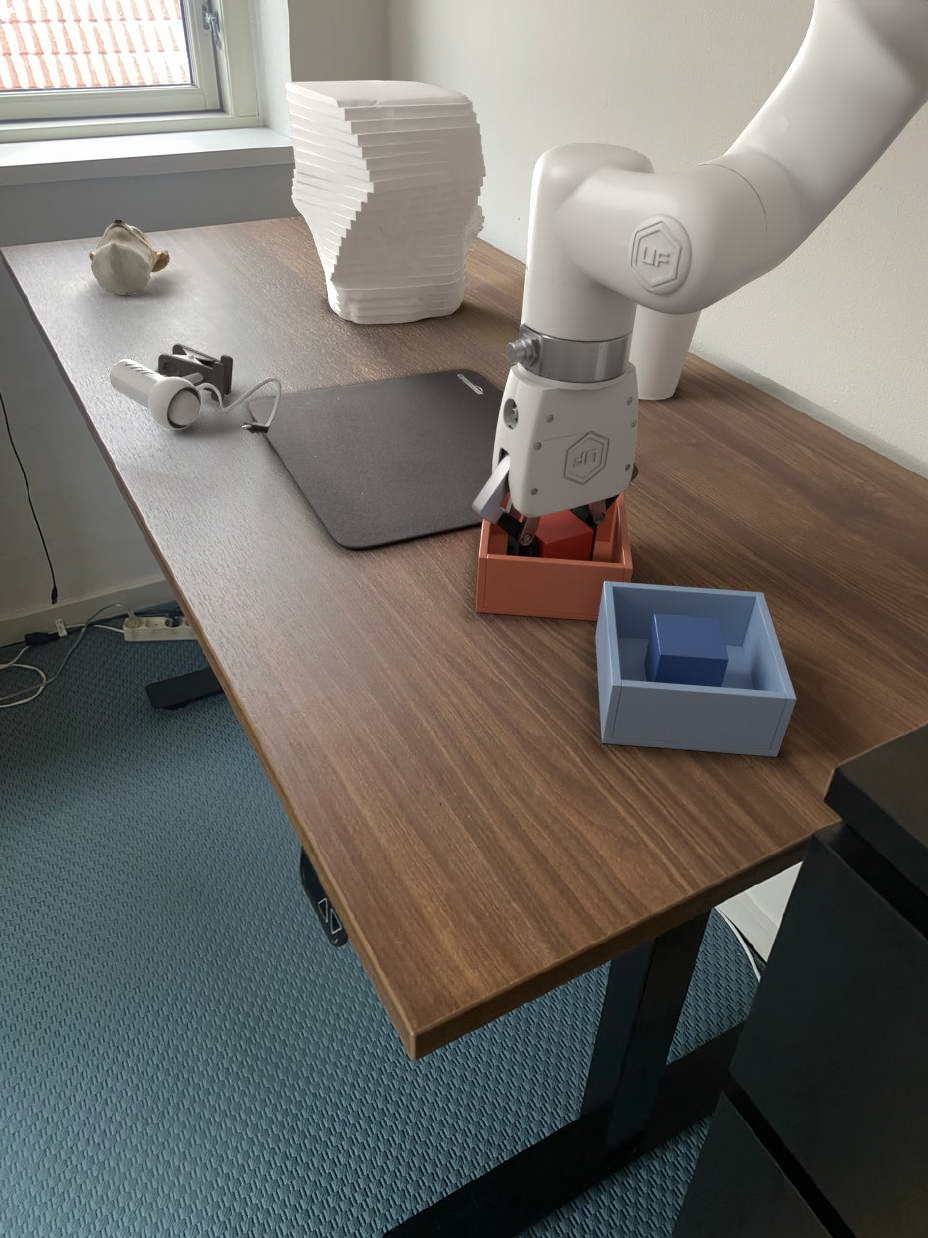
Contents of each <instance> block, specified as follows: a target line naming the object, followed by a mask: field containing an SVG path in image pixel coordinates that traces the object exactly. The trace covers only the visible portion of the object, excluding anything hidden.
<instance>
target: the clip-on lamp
mask: <svg viewBox="0 0 928 1238" xmlns="http://www.w3.org/2000/svg"><path fill="white" fill-rule="evenodd" d="M171 351H172V353H171V354H168V353H162V354H159V356H158V359H157V360H158V361H157V368H156V369H155V370H152V369H150V368H147V367H146V366H144V365H142V364H140V363H138V362H136V361H134V360H131V359H128V358H124V359H121V360H119V361H117V362H116V363H115V364H113V366H112V367H111V369H110V372H109V382H110V384H111V386H112V388H113V390H116V392H118V393H120V394H122V395H124V396H125V397H127V398H129V399H131V400H132V401H134V402H136V403H138V404H139V405H141V406H142V407H145V409H148V410H149V413H150V415H151V416H152V418H153V419H154V421H155V422H157V423H158V424H159V425H160V426H162V427H163V428H166V429H169V430H173V431H180V430H185V429H187V428H189V426H191V425H192V423H194V422H195V421H196V420H197V419H198V417H199V416H200V413H201V406H202V397H201V396H202V395H201V394H200V391H201V390H203V391H207V392H209V393H210V398H211V400H212V401H214V402H217V403H219V408H220V411H221V412H222V413H224V414H227V413H229V412H232V411H233V410H234V409H236V408H237V407H239V405H240V404H242V403H243V402H244V401H245V400H247V399H248V398H249V397H251V395H253V393H255V392H256V391H257V390H259V389H260V388H261V387H263V386H264V385H267V384H268V383H271V382H274V383H275V384H276V387H277V389H276V396H277V397H276V401H275V405H274V408H273V411H272V413H271V416H270V418H269V420H268V422H267V424H266V425H264V424H261V423H257V422H254V421H244V422H243V425H241V426H240V429H242V430H246V431H248V432H249V433H250V434H258V435H260V434H264V433H267V432H268V430H269V427H270V425H271V424H272V422H273V420H274V418H275V415H276V412H277V409H278V406H279V401H280V397H281V395H282V385H281V384H282V383H281V381H280V379H278V378H277V377H276V376H275V377H274V376H273V377H271V376H269V377H267V378H265V379H263V380H261V381H260V382H258V383H256V384H255V385H254V386H253V387H251V388H250V389H248V390H247V391H246V392H244V394H242V395H241V396H240V397H239V398H237V400H235V401H234V402H232V403H231V404H230V405H228V406H227V407H224V404H223V402H224V400H225V395H226V396H228V395H230V394H231V393H232V384H233V383H232V382H233V369H234V359H233V357H231V356H229V355H227V354H222V355H221V356H220V359H218V358H215V357H213V356H211V355H209V354H206V353H204V352H201V351H198V350H196V349H194V348H192V347H189V346H186V345H183V344H181V343H176V344H174V345H172V350H171Z"/></svg>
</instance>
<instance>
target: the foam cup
mask: <svg viewBox="0 0 928 1238" xmlns="http://www.w3.org/2000/svg"><path fill="white" fill-rule="evenodd" d="M702 311H703V310H700V311H697V312H694V313H690V314H683V315H672V314H666V313H661V312H658V311H654V310H652V309H649V308H647V307H644V306H642V305H640V304H638V303H637V309H636V316H635V322H634V327H633V335H632V342H631V348H630V355H629V362H631V363H632V364H633V365H634V366H635V367H636V374H637V384H638V400H644V401H645V400H647V401H660V400H666V399H669V398H671V397H673V396H674V394H675V392H676V389H677V387H678V384H679V381H680V378H681V376H682V372H683V369H684V366H685V363H686V359H687V357H688V353H689V350H690V347H691V344H692V341H693V338H694V335H695V332H696V329H697V325H698V323H699V321H700V317H701V314H702Z"/></svg>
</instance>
